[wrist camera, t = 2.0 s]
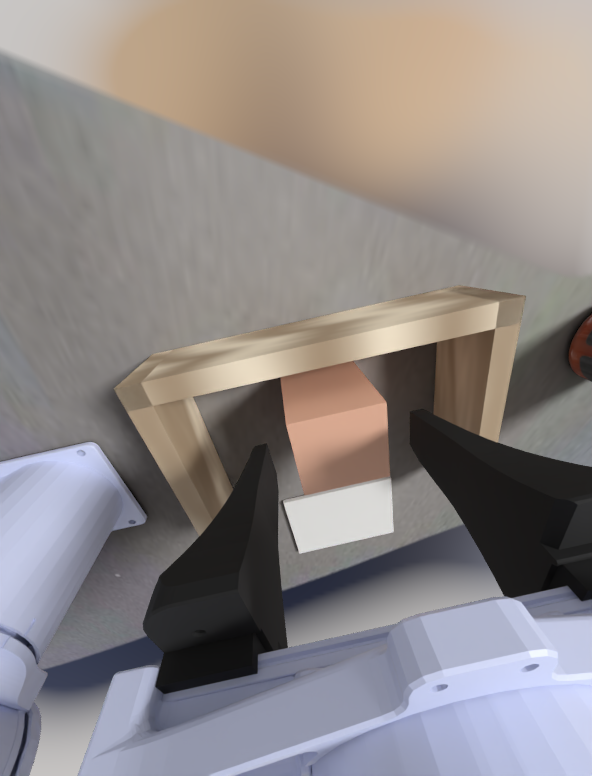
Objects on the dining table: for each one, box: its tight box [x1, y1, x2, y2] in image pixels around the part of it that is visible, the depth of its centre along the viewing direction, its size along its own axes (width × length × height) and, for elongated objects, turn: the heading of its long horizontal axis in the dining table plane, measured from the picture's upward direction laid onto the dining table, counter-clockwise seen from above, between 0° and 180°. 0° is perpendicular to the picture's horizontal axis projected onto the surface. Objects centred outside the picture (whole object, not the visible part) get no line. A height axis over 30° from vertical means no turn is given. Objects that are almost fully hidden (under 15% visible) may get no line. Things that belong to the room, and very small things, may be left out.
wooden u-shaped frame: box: [114, 285, 526, 536], centre depth 17 cm, size 18×13×4 cm
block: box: [280, 361, 390, 495], centre depth 15 cm, size 4×4×6 cm
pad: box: [283, 476, 394, 553], centre depth 24 cm, size 9×7×1 cm
